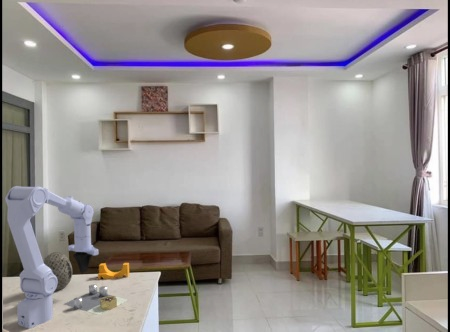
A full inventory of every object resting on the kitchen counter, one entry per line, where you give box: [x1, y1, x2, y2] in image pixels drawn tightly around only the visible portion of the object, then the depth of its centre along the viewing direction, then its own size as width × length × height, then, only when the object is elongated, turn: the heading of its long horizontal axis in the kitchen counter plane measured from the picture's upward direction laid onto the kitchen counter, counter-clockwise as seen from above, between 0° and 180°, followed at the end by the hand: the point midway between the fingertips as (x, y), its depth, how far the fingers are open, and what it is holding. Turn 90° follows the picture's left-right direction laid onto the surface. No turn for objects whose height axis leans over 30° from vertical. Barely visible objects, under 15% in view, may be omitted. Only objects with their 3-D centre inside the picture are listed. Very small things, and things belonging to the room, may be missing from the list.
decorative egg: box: [43, 251, 73, 291], centre depth 135 cm, size 12×12×15 cm
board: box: [64, 291, 128, 316], centre depth 122 cm, size 13×18×1 cm
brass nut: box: [100, 295, 118, 311], centre depth 118 cm, size 6×5×3 cm
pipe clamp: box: [97, 262, 130, 280], centre depth 146 cm, size 12×4×6 cm, turn 91°
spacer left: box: [72, 296, 83, 310], centre depth 117 cm, size 3×3×3 cm
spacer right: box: [98, 285, 108, 297], centre depth 127 cm, size 3×3×3 cm
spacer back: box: [88, 283, 98, 295], centre depth 129 cm, size 3×3×3 cm
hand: (83, 271), depth 129 cm, fingers closed
